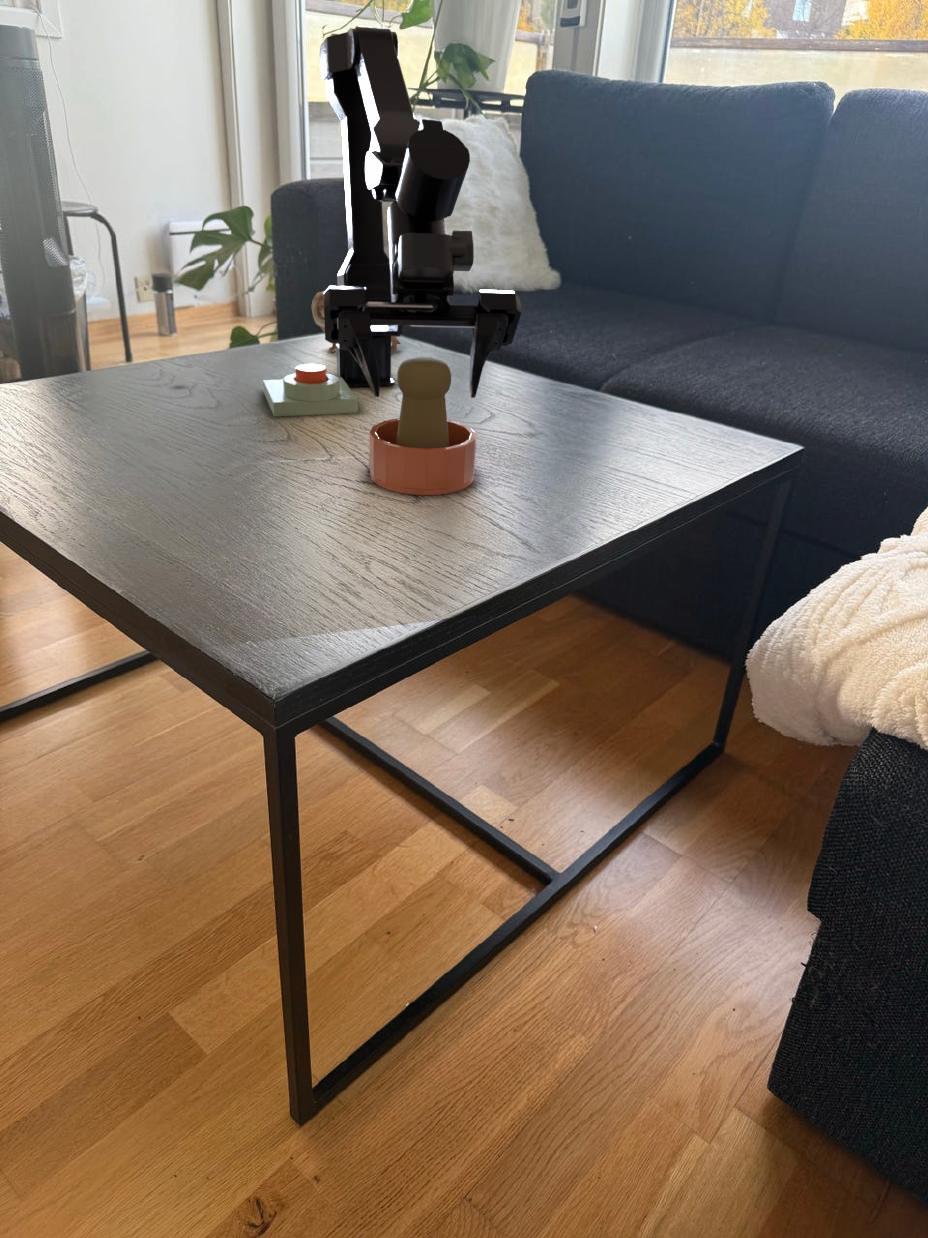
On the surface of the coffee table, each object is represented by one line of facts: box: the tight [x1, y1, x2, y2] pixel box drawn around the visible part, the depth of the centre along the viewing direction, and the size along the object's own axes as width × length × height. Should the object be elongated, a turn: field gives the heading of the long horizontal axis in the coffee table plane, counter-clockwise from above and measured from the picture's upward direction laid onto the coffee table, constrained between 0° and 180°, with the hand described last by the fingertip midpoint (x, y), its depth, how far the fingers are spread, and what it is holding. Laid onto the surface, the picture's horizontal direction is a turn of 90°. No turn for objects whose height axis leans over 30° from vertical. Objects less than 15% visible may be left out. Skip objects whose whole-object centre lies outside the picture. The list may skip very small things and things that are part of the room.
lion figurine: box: [310, 290, 401, 353], centre depth 132 cm, size 15×5×9 cm, turn 126°
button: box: [295, 363, 327, 384], centre depth 106 cm, size 4×4×2 cm
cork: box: [396, 356, 452, 449], centre depth 87 cm, size 6×6×11 cm
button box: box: [262, 372, 359, 417], centre depth 109 cm, size 10×10×4 cm
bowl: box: [368, 417, 477, 496], centre depth 88 cm, size 10×10×4 cm
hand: (425, 394), depth 84 cm, fingers open, 9 cm apart
